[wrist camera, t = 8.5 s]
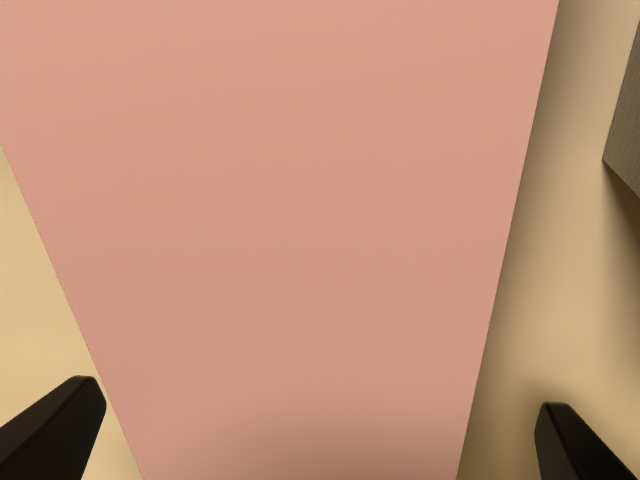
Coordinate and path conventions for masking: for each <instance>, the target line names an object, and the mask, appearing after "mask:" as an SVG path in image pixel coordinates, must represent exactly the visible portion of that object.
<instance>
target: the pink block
mask: <svg viewBox="0 0 640 480" xmlns="http://www.w3.org/2000/svg"><path fill="white" fill-rule="evenodd" d="M558 4H559V0H0V143H1V145H2V147H3V150H4V152H5V154H6V157H7V159H8V161H9V164H10V166H11V168H12V171H13V173H14V176H15V178H16V180H17V183H18V185H19V187H20V190H21V192H22V194H23V197H24V199H25V201H26V204H27V206H28V208H29V211H30V213H31V216H32V218H33V220H34V223H35V225H36V227H37V230H38V232H39V234H40V237H41V239H42V241H43V244H44V246H45V249H46V251H47V253H48V256H49V258H50V260H51V263H52V265H53V267H54V270H55V272H56V274H57V277H58V279H59V281H60V284H61V286H62V289H63V291H64V293H65V296H66V298H67V300H68V303H69V305H70V307H71V310H72V312H73V314H74V317H75V319H76V321H77V324H78V326H79V329H80V331H81V333H82V336H83V338H84V340H85V343H86V345H87V347H88V350H89V352H90V354H91V357H92V359H93V362H94V364H95V366H96V369H97V371H98V373H99V376H100V378H101V380H102V383H103V385H104V387H105V390H106V392H107V394H108V397H109V399H110V402H111V404H112V406H113V409H114V411H115V413H116V416H117V418H118V420H119V423H120V425H121V427H122V430H123V432H124V434H125V437H126V439H127V442H128V444H129V446H130V449H131V451H132V453H133V456H134V458H135V460H136V463H137V465H138V467H139V470H140V472H141V475H142V477H143V479H144V480H456V476H457V472H458V467H459V462H460V458H461V453H462V448H463V444H464V439H465V434H466V430H467V425H468V421H469V416H470V411H471V407H472V402H473V397H474V393H475V388H476V383H477V379H478V374H479V370H480V365H481V360H482V356H483V351H484V346H485V342H486V337H487V333H488V328H489V323H490V319H491V314H492V309H493V305H494V300H495V295H496V291H497V286H498V282H499V277H500V272H501V268H502V263H503V258H504V254H505V249H506V244H507V240H508V235H509V231H510V226H511V221H512V217H513V212H514V207H515V203H516V198H517V194H518V189H519V184H520V180H521V175H522V170H523V166H524V161H525V156H526V152H527V147H528V143H529V138H530V133H531V129H532V124H533V119H534V115H535V110H536V105H537V101H538V96H539V92H540V87H541V82H542V78H543V73H544V68H545V64H546V59H547V54H548V50H549V45H550V41H551V36H552V31H553V27H554V22H555V17H556V13H557V8H558Z"/></svg>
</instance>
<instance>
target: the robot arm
mask: <svg viewBox="0 0 640 480" xmlns="http://www.w3.org/2000/svg"><path fill="white" fill-rule="evenodd" d="M105 412H106V400H105V397H104V395H103V393H102V391H101V389H100V387H99V385H98V383H97V381H96V379H95V378H94V377H92V376H80V375H77V376H73V377H71V378H69V379H68V380H66V381H65V382H64V383H62V384H61V385H59V386H58V387H56V388H55V389H54V390H52V391H51V392H49V393H48V394H47V395H45V396H44V397H42V398H41V399H40V400H38V401H37V402H35V403H34V404H33V405H31V406H30V407H28V408H27V409H26V410H24V411H23V412H21V413H20V414H19V415H17V416H16V417H14V418H13V419H12V420H10V421H9V422H7V423H6V424H4V425H3V426H2V427H0V480H81V478H82V476H83V473H84V471H85V468H86V465H87V462H88V459H89V457H90V454H91V451H92V448H93V446H94V443H95V440H96V437H97V435H98V432H99V429H100V426H101V424H102V421H103V418H104V415H105ZM534 438H535V445H536V451H537V457H538V463H539V469H540V474H541V480H638V479H637V478H636V477H635V476H634V475H633V473H632V472H631V471H630V470H629V469H628V468H627V467H626V466H625V465H624V464H623V463H622V462H621V460H620V459H619V458H618V457H617V456H616V455H615V454H614V453H613V452H612V451H611V450H610V449H609V447H608V446H607V445H606V444H605V443H604V442H603V441H602V440H601V439H600V438H599V437H598V436H597V434H596V433H595V432H594V431H593V430H592V429H591V428H590V427H589V426H588V425H587V424H586V423H585V421H584V420H583V419H582V418H581V417H580V416H579V415H578V414H577V413H576V412H575V411H574V410H573V408H572V407H571V406H569V405H568V404H566V403H563V402H544V403H543V404H542V405H541V408H540V412H539V415H538V419H537V422H536V426H535V431H534Z"/></svg>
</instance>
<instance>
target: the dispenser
mask: <svg viewBox="0 0 640 480" xmlns="http://www.w3.org/2000/svg"><path fill="white" fill-rule="evenodd" d="M602 159H603V160H604V161H605V162H606V163H607V164H608V165H609V166H610V167H611V168H612V169H613V170H614V171H615V172H616V174H617V175H618V176H619V177H620V178H621V179H622V180H623V181H624V182H625V183H626V184H627V185H628V186H629V187H630V188H631V189H632V190H633V191H634V192H635V193H636V195H637V196H638V197H639V198H640V22H639V26H638V30H637V33H636V37H635V41H634V44H633V48H632V52H631V55H630V59H629V63H628V66H627V70H626V74H625V77H624V81H623V85H622V88H621V92H620V96H619V99H618V103H617V107H616V110H615V114H614V118H613V121H612V125H611V129H610V132H609V136H608V140H607V143H606V147H605V151H604V154H603V158H602Z"/></svg>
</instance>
